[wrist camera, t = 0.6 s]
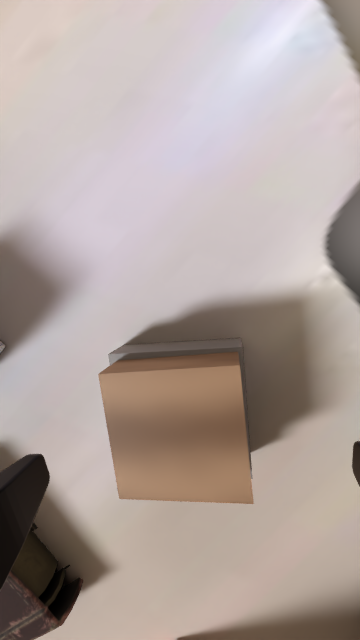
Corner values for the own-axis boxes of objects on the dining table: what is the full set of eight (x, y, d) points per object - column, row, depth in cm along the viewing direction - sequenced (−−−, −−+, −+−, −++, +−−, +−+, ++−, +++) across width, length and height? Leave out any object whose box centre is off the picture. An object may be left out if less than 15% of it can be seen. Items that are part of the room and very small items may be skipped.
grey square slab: (248, 449, 23) (252, 478, 19) (139, 447, 25) (125, 473, 21) (240, 336, 22) (242, 346, 18) (125, 343, 23) (108, 354, 20)
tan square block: (249, 470, 19) (253, 504, 16) (134, 468, 21) (119, 498, 18) (238, 351, 18) (239, 365, 15) (117, 360, 20) (98, 374, 17)
